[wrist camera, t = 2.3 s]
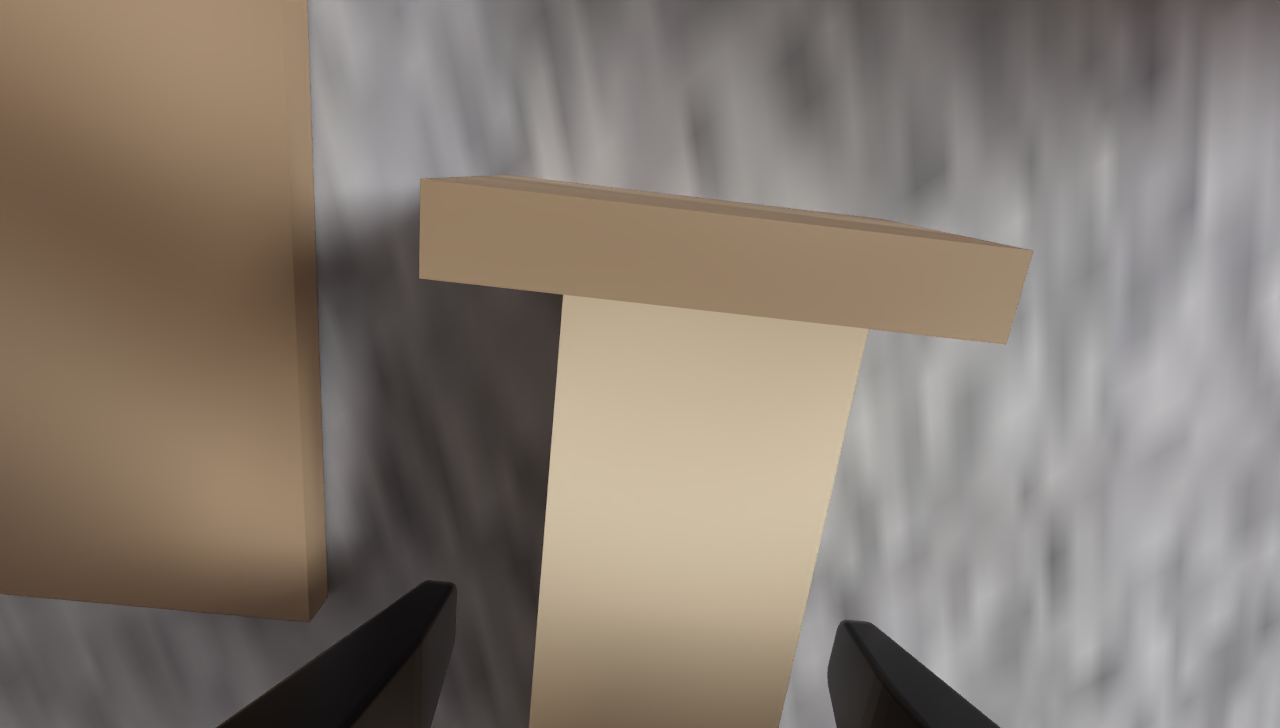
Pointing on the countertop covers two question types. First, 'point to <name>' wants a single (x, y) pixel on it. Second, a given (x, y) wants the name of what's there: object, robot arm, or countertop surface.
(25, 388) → the trivet
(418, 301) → the countertop surface
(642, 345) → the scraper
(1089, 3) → the countertop surface
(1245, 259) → the countertop surface
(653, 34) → the countertop surface
